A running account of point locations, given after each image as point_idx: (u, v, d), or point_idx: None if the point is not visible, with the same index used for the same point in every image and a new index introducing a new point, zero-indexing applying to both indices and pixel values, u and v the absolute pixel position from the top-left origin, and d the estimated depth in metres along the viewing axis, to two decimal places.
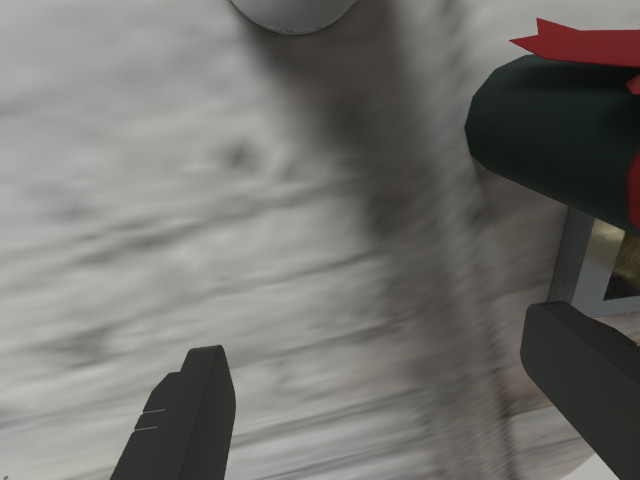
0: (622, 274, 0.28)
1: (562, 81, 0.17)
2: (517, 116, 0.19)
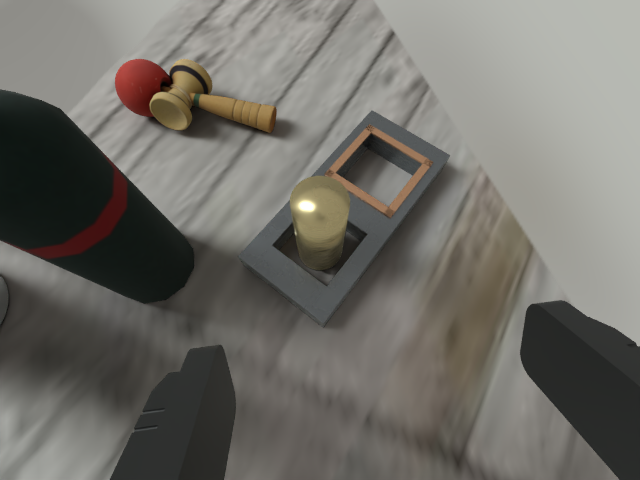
0: (314, 262, 0.32)
1: None
2: None
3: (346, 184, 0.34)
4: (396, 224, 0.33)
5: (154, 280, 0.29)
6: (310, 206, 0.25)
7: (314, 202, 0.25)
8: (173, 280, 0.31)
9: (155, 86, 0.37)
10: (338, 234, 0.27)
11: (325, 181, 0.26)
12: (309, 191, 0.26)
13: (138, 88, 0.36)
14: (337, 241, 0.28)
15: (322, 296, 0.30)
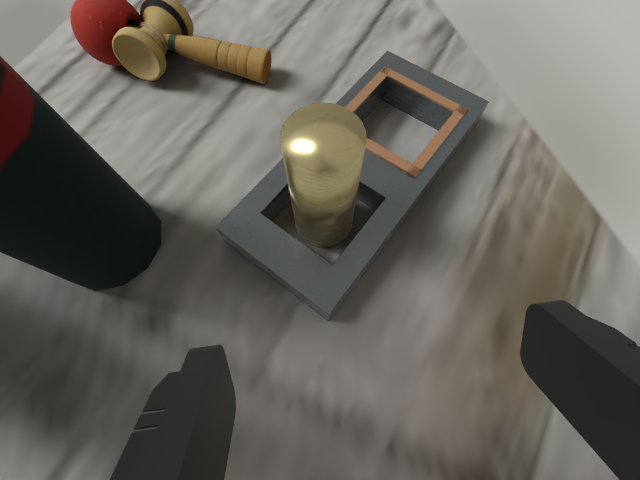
0: (316, 234, 0.24)
1: None
2: None
3: None
4: (423, 185, 0.25)
5: (98, 255, 0.21)
6: (310, 143, 0.18)
7: (315, 137, 0.18)
8: (129, 258, 0.23)
9: (119, 22, 0.30)
10: (349, 187, 0.19)
11: (331, 110, 0.18)
12: (308, 123, 0.18)
13: (98, 23, 0.29)
14: (347, 200, 0.21)
15: (327, 278, 0.23)
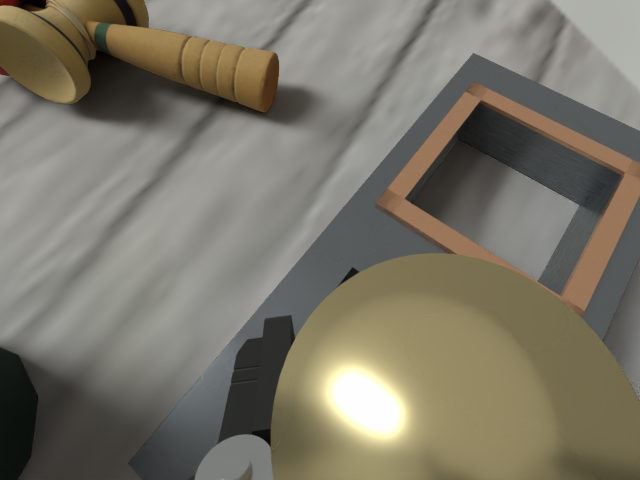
0: None
1: None
2: None
3: (436, 230, 0.13)
4: None
5: None
6: (406, 475, 0.04)
7: (427, 439, 0.04)
8: None
9: None
10: None
11: (470, 289, 0.05)
12: (389, 356, 0.04)
13: None
14: None
15: None
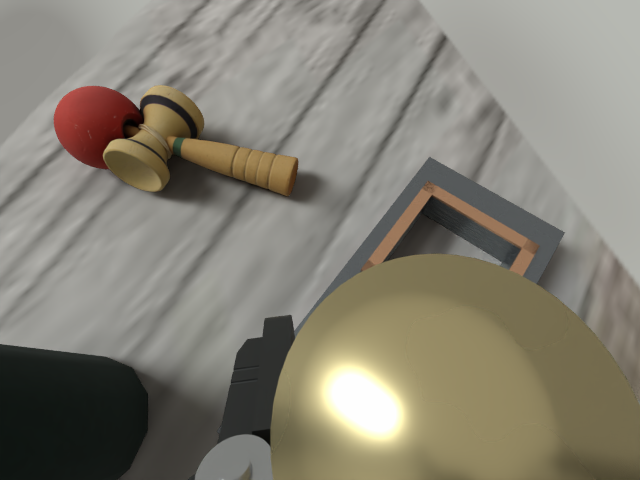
0: None
1: None
2: None
3: None
4: None
5: None
6: (404, 475, 0.04)
7: (425, 440, 0.04)
8: None
9: (113, 128, 0.24)
10: None
11: (470, 291, 0.05)
12: (388, 356, 0.04)
13: (86, 131, 0.23)
14: None
15: None
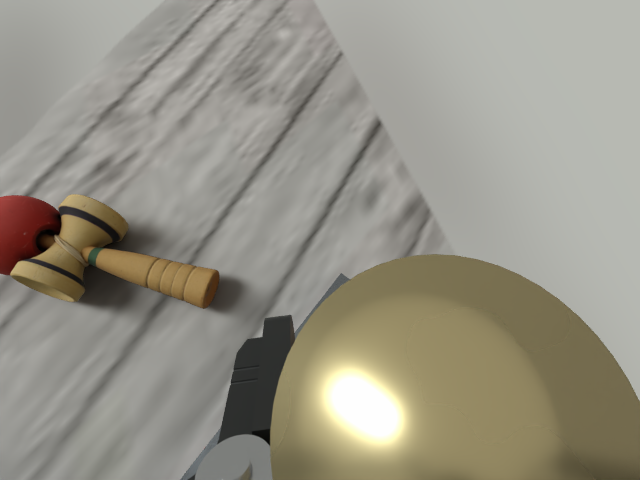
0: None
1: None
2: None
3: None
4: None
5: None
6: (406, 477, 0.04)
7: (427, 442, 0.04)
8: None
9: (23, 245, 0.24)
10: None
11: (471, 292, 0.05)
12: (388, 358, 0.04)
13: None
14: None
15: None
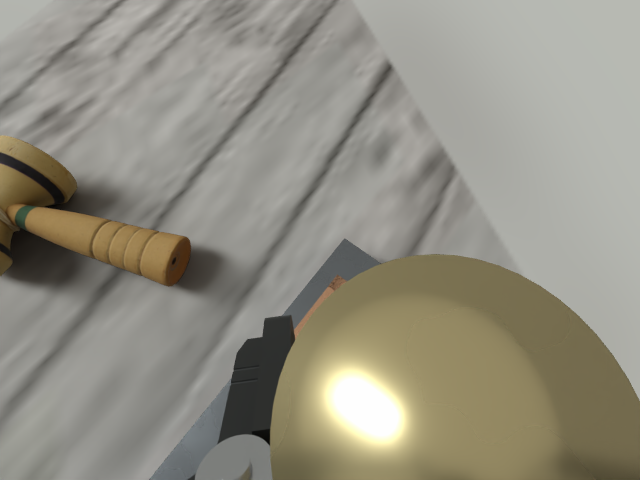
0: None
1: None
2: None
3: None
4: None
5: None
6: (406, 479, 0.04)
7: (426, 441, 0.04)
8: None
9: None
10: None
11: (471, 291, 0.05)
12: (388, 358, 0.04)
13: None
14: None
15: None
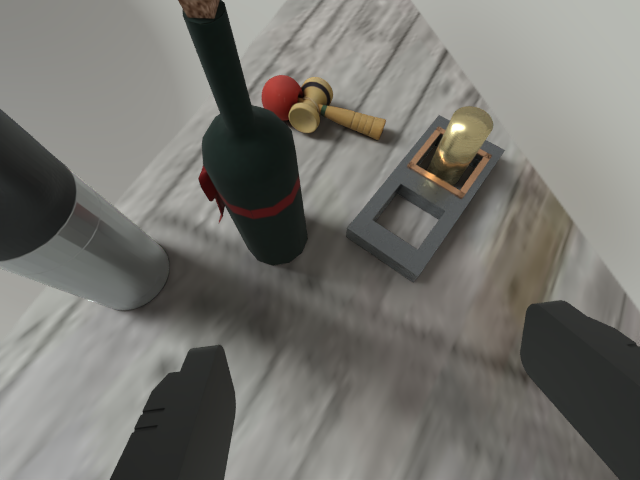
0: (447, 177, 0.44)
1: None
2: (242, 235, 0.38)
3: (425, 173, 0.44)
4: (467, 203, 0.43)
5: (292, 243, 0.39)
6: (467, 125, 0.38)
7: (468, 122, 0.38)
8: (299, 245, 0.41)
9: (294, 97, 0.47)
10: (479, 147, 0.39)
11: (473, 110, 0.39)
12: (464, 116, 0.38)
13: (283, 98, 0.46)
14: (474, 155, 0.41)
15: (415, 257, 0.40)
